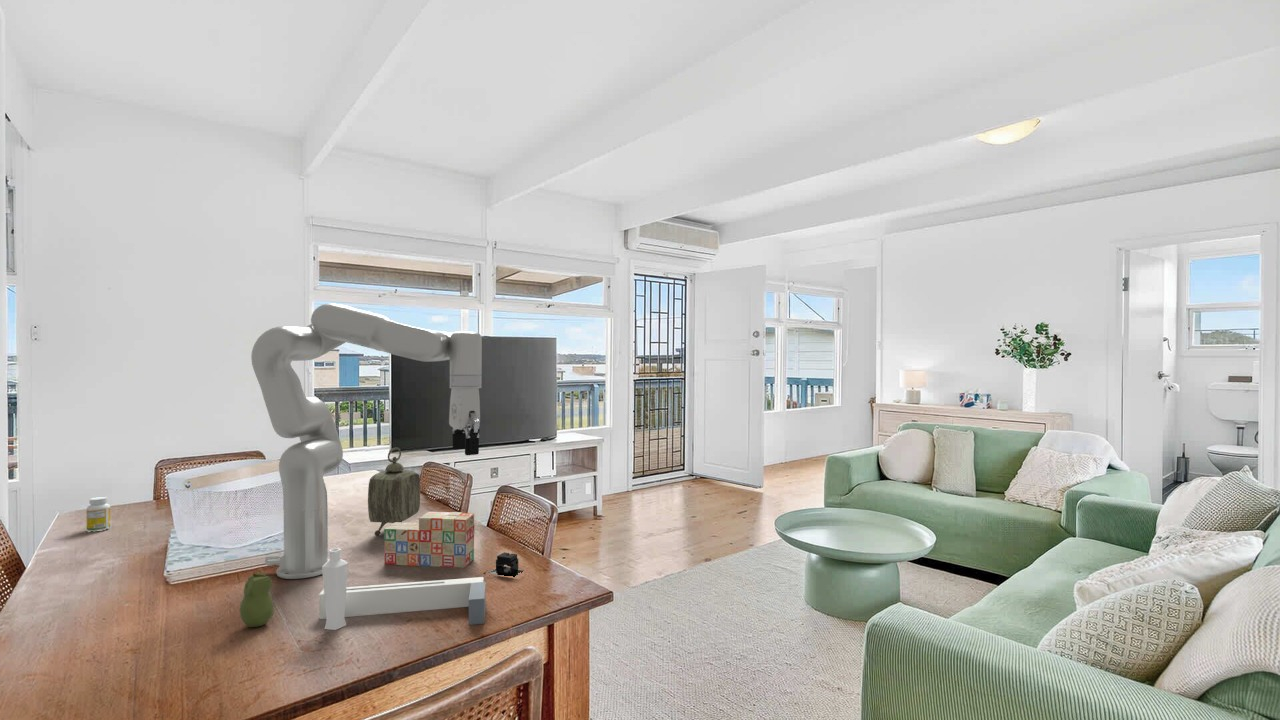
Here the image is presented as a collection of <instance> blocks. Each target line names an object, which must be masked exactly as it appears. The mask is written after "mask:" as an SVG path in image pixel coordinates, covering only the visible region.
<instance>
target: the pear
mask: <svg viewBox="0 0 1280 720" xmlns="http://www.w3.org/2000/svg"><path fill="white" fill-rule="evenodd" d="M272 586H273V581H272V579H271V578H270V576H269V575H266V574H265V573H262V572H261V573H252V575H251V576H250V577H247V581H246V582H245V585H244V587H243V597H242V598H241V601H240V605H239V616H240V620H241V621H242V623H243V624H244V625H245V626H247V627H249V628H258V627H261V626H264V625H265V624H267V623H268V622H269V621H271V619H272V617H273V615H274V611H275V610H274V607H275V606H274V602H273V598H272V595H271V592H270V589H271V588H272Z"/></svg>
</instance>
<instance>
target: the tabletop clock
mask: <svg viewBox="0 0 1280 720" xmlns="http://www.w3.org/2000/svg"><path fill="white" fill-rule="evenodd" d="M393 451H398V453H399V454H398V457H396V456H393V457H392V459H390V457H391V453H392V452H393ZM401 457H402V451H401V449H400V448H399V447H393V448H391V449H390V450H389V451H388V453H387V460H388V462H390V463H389V464H388V465H387V466H386V467H385V470H381V471H379V472H376V473H374V474H373V475H372V476H371V477H370V478H369V480H368V481H369V482H368V487H367V488H368V491H367V509H368V510H367V512H368V519H369V522H370V523H381V524H380V526H379V528H378V529H377V530H375V532H374V533H373V534H374V536H376V537H379V536H380V535H381V530H382V529H383V528H384V526H385V525H386V524H393V523H395V522H404V521H406V520H408V519H410V518H411V517H412V516H414V515H416V514H417V513H419V511H420V507H421V481H420V480H421V479H420V477H421V476H420V474H419V473H418V472H416V471H415V470H412V469H411V470H408V469H406V470H405V468H404V466H403V464H402V463H400V462H398V461H399V460H400V458H401Z"/></svg>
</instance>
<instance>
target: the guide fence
mask: <svg viewBox="0 0 1280 720" xmlns="http://www.w3.org/2000/svg"><path fill="white" fill-rule="evenodd" d="M484 580H485V579H484V576H479V577H466V578H465V577H464V578H463V577H462V578H455V579H454V578H452V579H439V580H437V579H436V580H423V581H415V582H414V581H411V582H401V583H400V582H399V583H387V584H386V583H385V584H373V585H372V584H371V585H360V586H346V600H345V614H344V618H349V617H362V616H375V615H386V614H387V615H388V614H399V613H408V612H409V613H410V612H420V611H421V612H422V611H431V610H432V611H433V610H445V609H457V608H458V609H459V608H466V607H467V608H468V625H469V626H472V625H482V624H483V625H485V618H486V606H487V605H486V603H487V602H486V600H487V599H486V596H487V595H486V593H487V590H486V588H487V587H486V584H487V583H486V581H484ZM318 619H319V620H326V609H325V597H324V588H323V589H322V590H321V591H320V592H319V594H318Z"/></svg>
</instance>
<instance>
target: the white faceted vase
mask: <svg viewBox="0 0 1280 720" xmlns="http://www.w3.org/2000/svg"><path fill="white" fill-rule="evenodd" d="M341 550H342V549H341V548H339V547H336V548H331V549H328V553H329V558H330V560H329V561H328V562H326V563H325V564H324V565H323V566H322V574H321V575H322V583H323V589H324V597H325V609H326V619H325V620H326V621H325V625H324V630H333V631H336V630H339V629H341V628H343V627H346V626H347V622H346V617H344V614H345V600H346V587H348V584H347V582H348V570H349V569H348V568H349V562H347V560H345V559H342V558H341Z"/></svg>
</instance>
